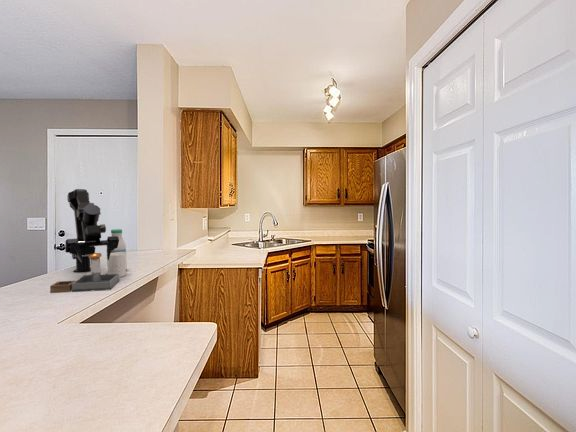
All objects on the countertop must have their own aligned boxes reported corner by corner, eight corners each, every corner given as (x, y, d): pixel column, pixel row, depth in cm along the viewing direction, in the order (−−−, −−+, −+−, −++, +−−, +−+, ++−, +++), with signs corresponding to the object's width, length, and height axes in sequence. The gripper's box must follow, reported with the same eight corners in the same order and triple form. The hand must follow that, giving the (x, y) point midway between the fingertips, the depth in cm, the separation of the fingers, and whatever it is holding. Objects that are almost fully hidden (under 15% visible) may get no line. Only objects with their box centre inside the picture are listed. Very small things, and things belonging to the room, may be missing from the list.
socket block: (57, 287, 128) (57, 281, 128) (76, 286, 129) (76, 280, 129) (50, 292, 122) (50, 286, 122) (69, 291, 123) (69, 285, 123)
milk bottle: (108, 270, 157) (107, 228, 156) (126, 269, 161) (125, 228, 159) (107, 274, 150) (106, 230, 149) (126, 272, 154) (125, 229, 152)
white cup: (130, 274, 151) (130, 252, 150) (120, 278, 143) (119, 255, 142) (114, 273, 152) (113, 252, 151) (103, 277, 144) (102, 255, 143)
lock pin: (90, 283, 132) (88, 253, 130) (102, 281, 134) (100, 252, 133) (90, 286, 128) (88, 255, 127) (103, 284, 130) (101, 254, 129)
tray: (84, 282, 136) (84, 275, 136) (118, 280, 139) (118, 273, 139) (72, 291, 123) (71, 283, 123) (110, 289, 126) (110, 282, 126)
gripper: (64, 218, 128) (68, 251, 121) (117, 217, 140) (124, 246, 132) (63, 236, 135) (67, 268, 127) (114, 233, 147) (120, 262, 139)
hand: (95, 260), depth 131 cm, fingers open, 9 cm apart
